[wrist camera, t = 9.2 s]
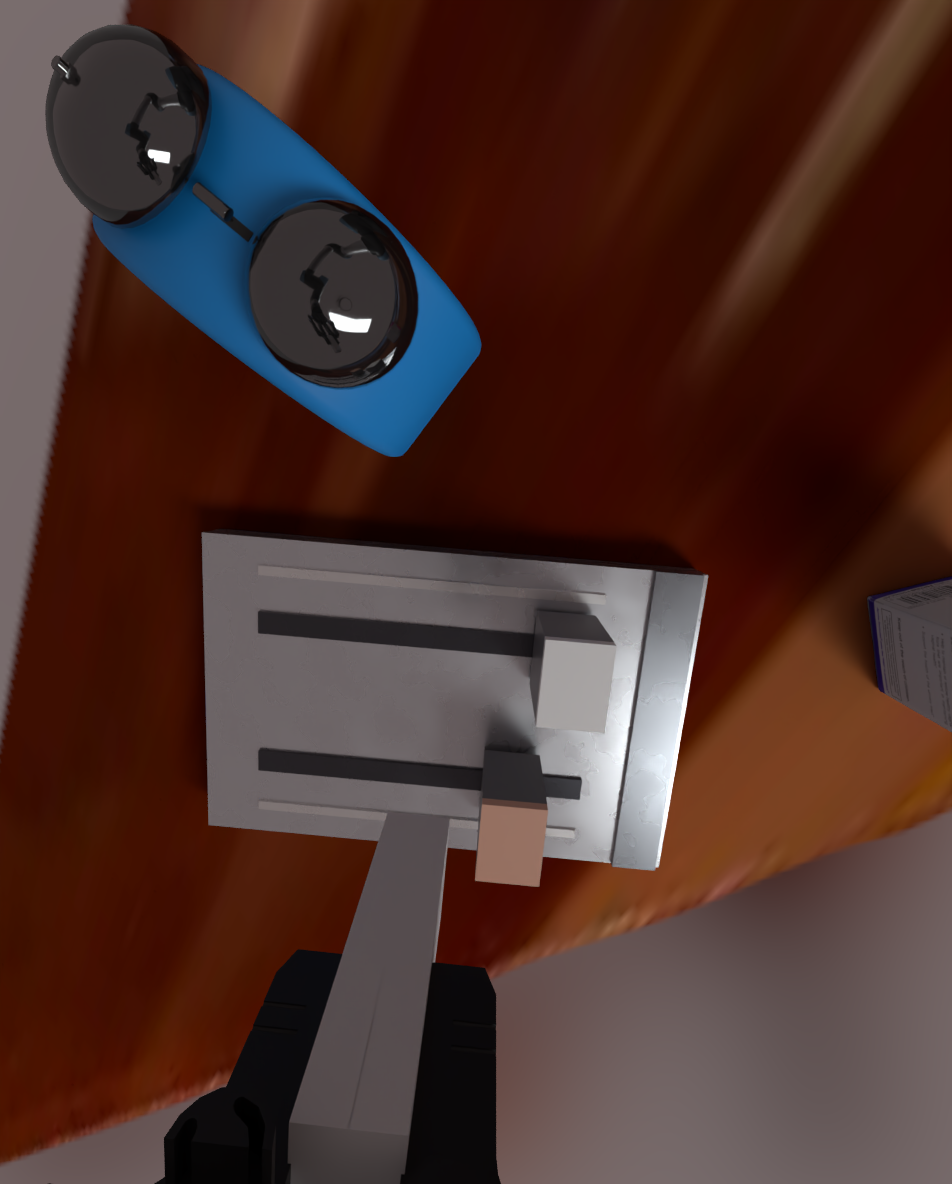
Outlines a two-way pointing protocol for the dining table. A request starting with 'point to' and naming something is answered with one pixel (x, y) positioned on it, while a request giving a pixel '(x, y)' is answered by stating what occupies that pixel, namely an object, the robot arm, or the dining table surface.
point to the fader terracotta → (511, 819)
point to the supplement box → (915, 647)
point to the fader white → (571, 672)
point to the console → (433, 688)
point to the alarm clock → (255, 236)
